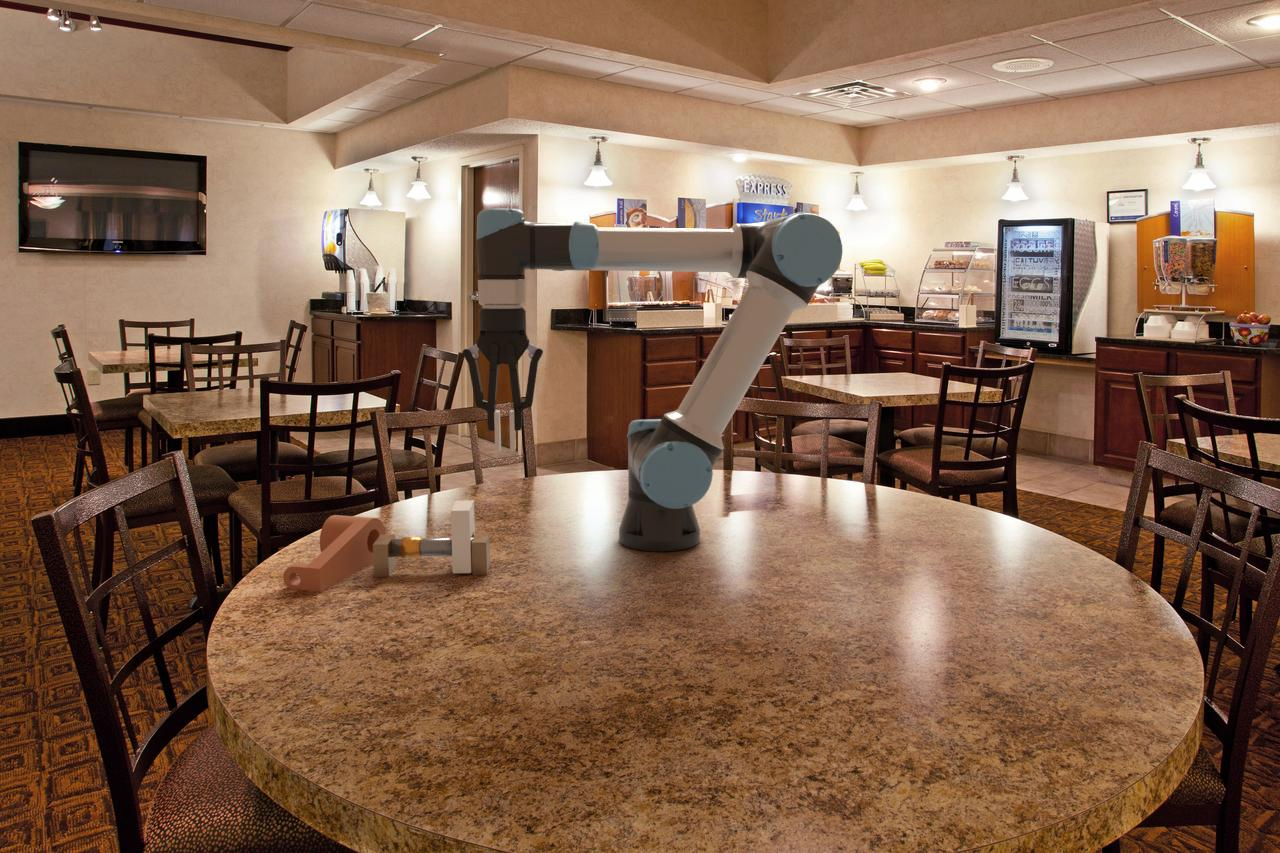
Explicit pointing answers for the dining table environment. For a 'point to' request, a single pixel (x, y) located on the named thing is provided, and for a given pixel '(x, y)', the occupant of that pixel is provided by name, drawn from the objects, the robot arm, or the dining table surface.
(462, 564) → the sleeve
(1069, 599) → the dining table surface
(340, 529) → the crank
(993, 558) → the dining table surface
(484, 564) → the pipe rig
